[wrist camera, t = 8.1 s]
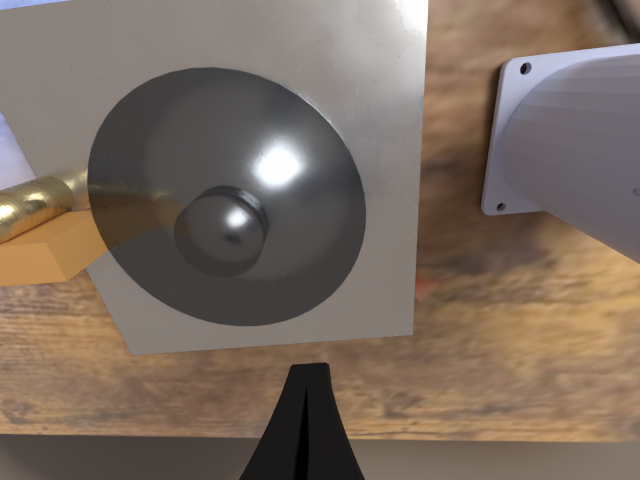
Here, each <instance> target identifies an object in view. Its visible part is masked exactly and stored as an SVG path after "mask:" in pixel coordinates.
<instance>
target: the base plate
mask: <svg viewBox="0 0 640 480" xmlns="http://www.w3.org/2000/svg"><path fill="white" fill-rule="evenodd" d="M427 12H428V0H70V1H63V2H56V3H48V4H41V5H34V6H27V7H20V8H12V9H5V10H0V110H1V112H2V114H3V116H4V117H5V119H6V121H7V123H8V125H9V127H10V129H11V131H12V132H13V134H14V136H15V138H16V140H17V142H18V144H19V145H20V147H21V149H22V151H23V153H24V155H25V157H26V159H27V160H28V162H29V164H30V166H31V168H32V170H33V172H34V173H35V175H36V177H37V179H34V180H31V181H28V182H25V183H22V184H18V185H15V186H12V187H9V188H6V189H3V190H0V244H1V243H3V242H5V241H7V240H9V239H11V238H13V237H15V236H17V235H19V234H21V233H23V232H25V231H27V230H29V229H31V228H33V227H35V226H37V225H40V224H42V223H44V222H46V221H48V220H50V219H52V218H54V217H56V216H58V215H60V214H62V213H64V212H75V211H86V210H91V207H90V203H89V197H88V188H87V169H88V162H89V156H90V151H91V147H92V145H93V142H94V139H95V136H96V134H97V131H98V130H99V128H100V126H101V124H102V123H103V121H104V119H105V117H106V116H107V115H108V113H109V112H110V111H111V110H112V109H113V107H114V106H115V105H116V104H117V103H118V102H119V101H120V100H121V99H122V98H123V97H125V96H126V95H127V94H128V93H129V92H131V91H132V90H133V89H134V88H136V87H138V86H140V85H141V84H143V83H145V82H147V81H148V80H150V79H152V78H155V77H158V76H161V75H163V74H166V73H169V72H173V71H178V70H183V69H188V68H204V67H216V68H225V69H233V70H240V71H245V72H248V73H252V74H256V75H260V76H263V77H266V78H268V79H270V80H273V81H275V82H278V83H280V84H282V85H284V86H286V87H287V88H289V89H291V90H293V91H294V92H296V93H298V94H299V95H301V96H302V97H303V98H305V99H306V100H307V101H309V102H310V103H311V104H312V105H314V106H315V107H316V108H317V109H318V110H319V111H320V112H321V113H322V114H323V115H324V116H325V117H326V118H327V119H328V120H329V121H330V122H331V123H332V125H333V126H334V127H335V129H336V130H337V131H338V133H339V134H340V136H341V137H342V138H343V140H344V142H345V144H346V146H347V147H348V149H349V151H350V153H351V155H352V157H353V159H354V162H355V165H356V167H357V170H358V172H359V175H360V177H361V182H362V186H363V190H364V194H365V204H366V228H365V234H364V239H363V244H362V247H361V250H360V253H359V256H358V258H357V260H356V262H355V264H354V266H353V268H352V270H351V272H350V273H349V275H348V276H347V278H346V279H345V281H344V282H343V283H342V285H341V286H340V287H339V288H338V289H337V290H336V291H335V292H334V293H333V294H332V295H331V296H330V297H329V298H327V299H326V300H325V301H324V302H323V303H321V304H320V305H318V306H316V307H315V308H313V309H312V310H310V311H308V312H306V313H304V314H302V315H300V316H298V317H295V318H292V319H289V320H286V321H283V322H279V323H274V324H270V325H262V326H229V325H222V324H217V323H211V322H208V321H204V320H200V319H197V318H194V317H192V316H189V315H186V314H184V313H181V312H179V311H177V310H175V309H173V308H171V307H169V306H167V305H166V304H164V303H162V302H161V301H159V300H158V299H156V298H154V297H153V296H152V295H150V294H149V293H148V292H146V291H145V290H144V289H143V288H141V287H140V286H139V285H138V284H137V283H136V282H135V281H134V280H133V279H132V278H130V277H129V276H128V274H127V273H126V272H125V271H124V270H123V269H122V268H121V266H120V265H119V264H118V263H117V262H116V260H115V259H114V257H113V256H112V254H111V253H110V252H109V250H108V251H106V252H105V253H104V254H102V255H101V256H100V257H99V258H97V259H96V260H95V261H93V262H92V263H91V264H89V265H88V266H87V267H86V268H85V269H86V270H87V272H88V274H89V276H90V278H91V280H92V282H93V284H94V285H95V287H96V289H97V291H98V293H99V295H100V297H101V298H102V300H103V302H104V304H105V306H106V308H107V310H108V312H109V313H110V315H111V317H112V319H113V321H114V323H115V325H116V326H117V328H118V330H119V332H120V334H121V336H122V338H123V340H124V341H125V343H126V345H127V347H128V349H129V351H130V353H131V354H132V355H144V354H158V353H172V352H186V351H200V350H213V349H227V348H241V347H255V346H268V345H282V344H296V343H310V342H323V341H337V340H351V339H365V338H379V337H392V336H406V335H413V321H414V299H415V277H416V255H417V233H418V211H419V188H420V166H421V144H422V122H423V100H424V78H425V56H426V34H427Z"/></svg>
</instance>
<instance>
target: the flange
mask: <svg viewBox="0 0 640 480" xmlns="http://www.w3.org/2000/svg"><path fill="white" fill-rule="evenodd" d="M87 188H88V197H89V203H90V207H91V210H86V211H75V212H64V213H62V214H60V215H58V216H56V217H54V218H52V219H50V220H48V221H46V222H44V223H42V224H40V225H37V226H35V227H33V228H31V229H29V230H27V231H25V232H23V233H21V234H19V235H17V236H15V237H13V238H11V239H9V240H7V241H5V242H3V243H1V244H0V287H2V286H15V285H28V284H41V283H54V282H67V281H69V280H70V279H71V278H73V277H74V276H75V275H76V274H78V273H79V272H80V271H82V270H83V269H84V268H86V267H87V266H88V265H89V264H91V263H92V262H93V261H95V260H96V259H97V258H99V257H100V256H101V255H102V254H104V253H105V252H106V251H108V250H109V252H110V253H111V254H112V256H113V257H114V259H115V260H116V262H117V263H118V264H119V265H120V266H121V268H122V269H123V270H124V271H125V272H126V273H127V274H128V276H129V277H130V278H132V279H133V280H134V281H135V282H136V283H137V284H138V285H139V286H140V287H141V288H143V289H144V290H145V291H146V292H148V293H149V294H150V295H152V296H153V297H154V298H156V299H158V300H159V301H161V302H162V303H164V304H166V305H167V306H169V307H171V308H173V309H175V310H177V311H179V312H181V313H184V314H186V315H189V316H192V317H194V318H197V319H200V320H204V321H208V322H211V323H217V324H222V325H229V326H262V325H270V324H274V323H279V322H283V321H286V320H289V319H292V318H295V317H298V316H300V315H302V314H304V313H306V312H308V311H310V310H312V309H313V308H315V307H316V306H318V305H320V304H321V303H323V302H324V301H325V300H326V299H327V298H329V297H330V296H331V295H332V294H333V293H334V292H335V291H336V290H337V289H338V288H339V287H340V286H341V285H342V283H343V282H344V281H345V279H346V278H347V276H348V275H349V273H350V272H351V270H352V268H353V266H354V264H355V262H356V260H357V258H358V256H359V253H360V250H361V247H362V244H363V239H364V234H365V228H366V204H365V194H364V190H363V186H362V182H361V177H360V175H359V172H358V170H357V167H356V165H355V162H354V159H353V157H352V155H351V153H350V151H349V149H348V147H347V146H346V144H345V142H344V140H343V138H342V137H341V136H340V134H339V133H338V131H337V130H336V129H335V127H334V126H333V125H332V123H331V122H330V121H329V120H328V119H327V118H326V117H325V116H324V115H323V114H322V113H321V112H320V111H319V110H318V109H317V108H316V107H315V106H314V105H312V104H311V103H310V102H309V101H307V100H306V99H305V98H303V97H302V96H301V95H299V94H298V93H296V92H294V91H293V90H291V89H289V88H287V87H286V86H284V85H282V84H280V83H278V82H275V81H273V80H270V79H268V78H266V77H263V76H260V75H256V74H252V73H248V72H245V71H240V70H233V69H225V68H216V67H204V68H188V69H183V70H178V71H173V72H169V73H166V74H163V75H161V76H158V77H155V78H152V79H150V80H148V81H147V82H145V83H143V84H141V85H140V86H138V87H136V88H134V89H133V90H132V91H131V92H129V93H128V94H127V95H126V96H125V97H123V98H122V99H121V100H120V101H119V102H118V103H117V104H116V105H115V106H114V107H113V109H112V110H111V111H110V112H109V113H108V115H107V116H106V117H105V119H104V121H103V123H102V124H101V126H100V128H99V130H98V131H97V134H96V136H95V139H94V142H93V145H92V147H91V151H90V156H89V162H88V169H87Z"/></svg>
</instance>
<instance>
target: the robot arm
mask: <svg viewBox="0 0 640 480" xmlns="http://www.w3.org/2000/svg"><path fill="white" fill-rule="evenodd" d="M524 63H525V64H526V66H527V69H526V71H525V73H524V74H521V73H520V68H521V66H522V65H523V64H524ZM500 203H502V207H500V208H499V209H497V206H498V205H499V204H500ZM481 210H482V212H483V213H484V214H486V215H488V216H493V215H504V214H515V213H526V212H537V211H546V212H548V213H550V214H552V215H554V216H555V217H557V218H559V219H561V220H562V221H564V222H566V223H568V224H570V225H571V226H573V227H575V228H577V229H578V230H580V231H582V232H584V233H586V234H587V235H589V236H591V237H593V238H594V239H596V240H598V241H600V242H602V243H603V244H605V245H607V246H609V247H611V248H612V249H614V250H616V251H618V252H619V253H621V254H623V255H625V256H627V257H628V258H630V259H632V260H634V261H635V262H637V263H639V264H640V43H637V44H629V45H620V46H612V47H603V48H595V49H587V50H578V51H570V52H561V53H553V54H544V55H536V56H527V57H519V58H512V59H509V60H507V61H506V62H505V63H504V64H503V66H502V68H501V71H500V77H499V84H498V91H497V98H496V104H495V111H494V118H493V125H492V132H491V139H490V146H489V153H488V160H487V167H486V174H485V181H484V188H483V195H482V202H481ZM239 480H365V479H364V477H363V474H362V472H361V470H360V468H359V465H358V463H357V461H356V458H355V456H354V453H353V451H352V448H351V446H350V443H349V441H348V438H347V435H346V433H345V430H344V427H343V424H342V421H341V418H340V415H339V412H338V409H337V405H336V402H335V398H334V394H333V390H332V384H331V377H330V369H329V364H327V363H326V362H325V363H311V364H296V365H292V366H291V367H290V370H289V374H288V377H287V380H286V383H285V385H284V388H283V391H282V393H281V396H280V398H279V401H278V403H277V405H276V408H275V410H274V412H273V415H272V417H271V419H270V421H269V424H268V426H267V428H266V430H265V432H264V434H263V436H262V438H261V440H260V442H259V444H258V446H257V448H256V450H255V452H254V454H253V456H252V458H251V459H250V461H249V463H248V465H247V467H246V468H245V470H244V472H243V474H242V475H241V477H240V479H239Z"/></svg>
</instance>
